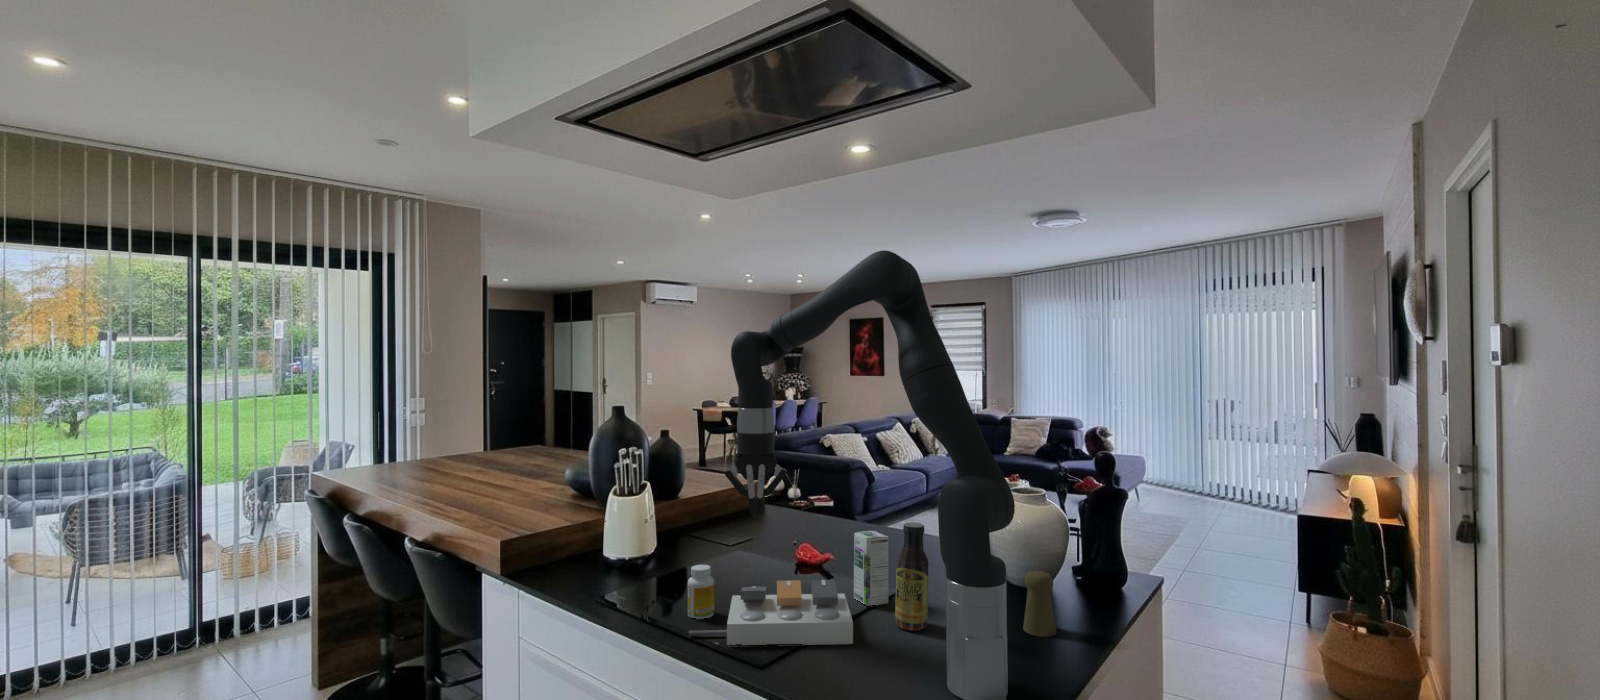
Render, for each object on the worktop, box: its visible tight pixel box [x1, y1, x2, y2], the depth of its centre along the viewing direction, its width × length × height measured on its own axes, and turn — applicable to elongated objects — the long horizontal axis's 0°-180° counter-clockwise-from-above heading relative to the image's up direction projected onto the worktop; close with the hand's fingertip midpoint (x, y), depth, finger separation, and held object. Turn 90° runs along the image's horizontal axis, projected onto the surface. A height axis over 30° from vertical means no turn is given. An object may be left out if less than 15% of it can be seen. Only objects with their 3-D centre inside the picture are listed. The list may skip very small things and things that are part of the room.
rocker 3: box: [810, 579, 838, 605], centre depth 129 cm, size 6×5×3 cm
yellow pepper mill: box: [1022, 570, 1057, 638], centre depth 125 cm, size 6×6×11 cm
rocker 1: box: [740, 585, 767, 603], centre depth 128 cm, size 6×5×3 cm
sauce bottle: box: [894, 521, 930, 632], centre depth 127 cm, size 6×6×20 cm
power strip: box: [688, 593, 854, 646], centre depth 126 cm, size 15×30×4 cm, turn 92°
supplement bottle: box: [687, 564, 715, 620], centre depth 133 cm, size 5×5×10 cm
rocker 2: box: [776, 579, 803, 606], centre depth 128 cm, size 6×5×3 cm
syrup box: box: [853, 530, 889, 606], centre depth 141 cm, size 6×6×14 cm
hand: (756, 516), depth 131 cm, fingers closed
